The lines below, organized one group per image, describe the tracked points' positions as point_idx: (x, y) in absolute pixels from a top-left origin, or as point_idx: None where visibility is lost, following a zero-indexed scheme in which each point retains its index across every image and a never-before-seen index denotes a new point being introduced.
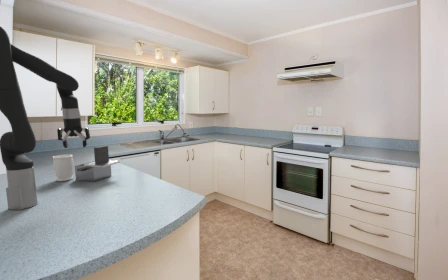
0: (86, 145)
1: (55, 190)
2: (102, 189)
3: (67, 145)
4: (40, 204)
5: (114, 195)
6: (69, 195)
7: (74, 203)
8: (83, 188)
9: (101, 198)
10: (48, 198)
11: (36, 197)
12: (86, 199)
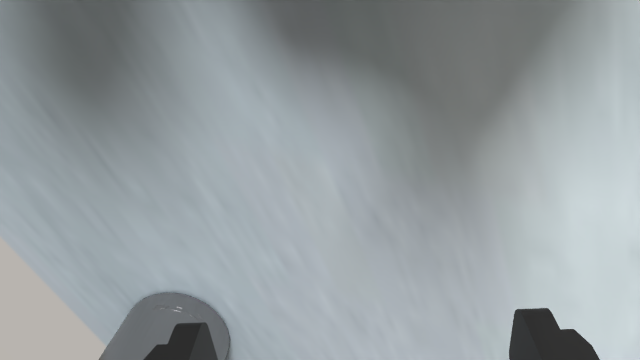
0: (574, 340)
1: (187, 105)
2: (528, 152)
3: (197, 350)
4: (247, 333)
5: (618, 286)
6: (338, 231)
7: (416, 354)
8: (378, 97)
9: None
10: (236, 257)
11: (218, 352)
12: (463, 314)
